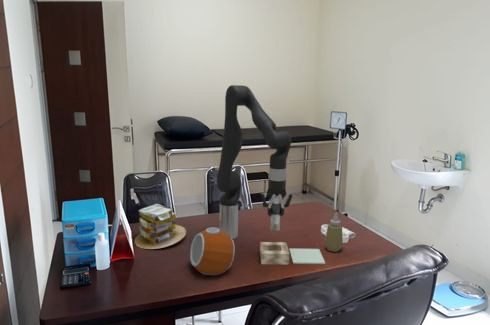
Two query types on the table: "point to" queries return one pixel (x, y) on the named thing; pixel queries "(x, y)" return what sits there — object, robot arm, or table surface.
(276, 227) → the steel peg
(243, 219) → the table surface
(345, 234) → the white brass knuckles
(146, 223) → the package stack on board
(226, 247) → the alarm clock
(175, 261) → the table surface
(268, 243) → the eye block
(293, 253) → the sage mat
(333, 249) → the squeeze bottle
